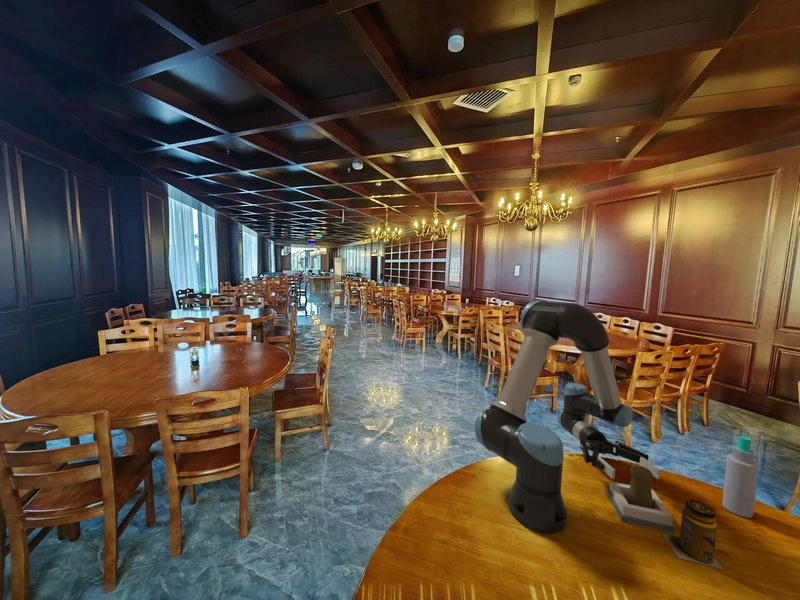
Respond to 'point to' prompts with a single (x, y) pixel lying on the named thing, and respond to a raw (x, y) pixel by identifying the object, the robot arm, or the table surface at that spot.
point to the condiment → (696, 534)
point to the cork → (640, 487)
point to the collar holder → (640, 509)
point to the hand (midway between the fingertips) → (636, 474)
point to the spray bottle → (740, 479)
